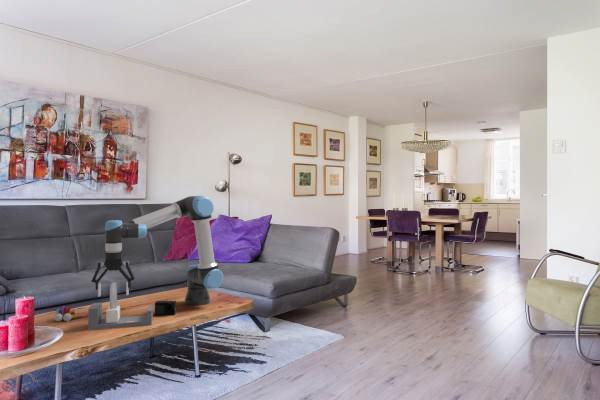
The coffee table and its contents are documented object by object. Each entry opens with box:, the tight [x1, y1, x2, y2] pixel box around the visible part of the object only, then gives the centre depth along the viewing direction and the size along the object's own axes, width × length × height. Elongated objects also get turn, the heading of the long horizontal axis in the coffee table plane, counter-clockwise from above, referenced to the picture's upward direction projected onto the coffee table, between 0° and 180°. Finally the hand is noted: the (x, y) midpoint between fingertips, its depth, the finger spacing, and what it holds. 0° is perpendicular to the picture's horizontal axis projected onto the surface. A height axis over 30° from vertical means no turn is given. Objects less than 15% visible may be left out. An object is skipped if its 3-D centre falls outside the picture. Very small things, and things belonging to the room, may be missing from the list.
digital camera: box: [154, 300, 177, 317], centre depth 221 cm, size 10×5×7 cm, turn 96°
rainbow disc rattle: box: [54, 305, 77, 323], centre depth 212 cm, size 8×10×7 cm
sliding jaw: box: [105, 282, 121, 323], centre depth 203 cm, size 5×9×18 cm, turn 17°
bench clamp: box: [87, 302, 154, 331], centre depth 204 cm, size 28×12×10 cm, turn 107°
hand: (113, 295), depth 203 cm, fingers open, 12 cm apart
